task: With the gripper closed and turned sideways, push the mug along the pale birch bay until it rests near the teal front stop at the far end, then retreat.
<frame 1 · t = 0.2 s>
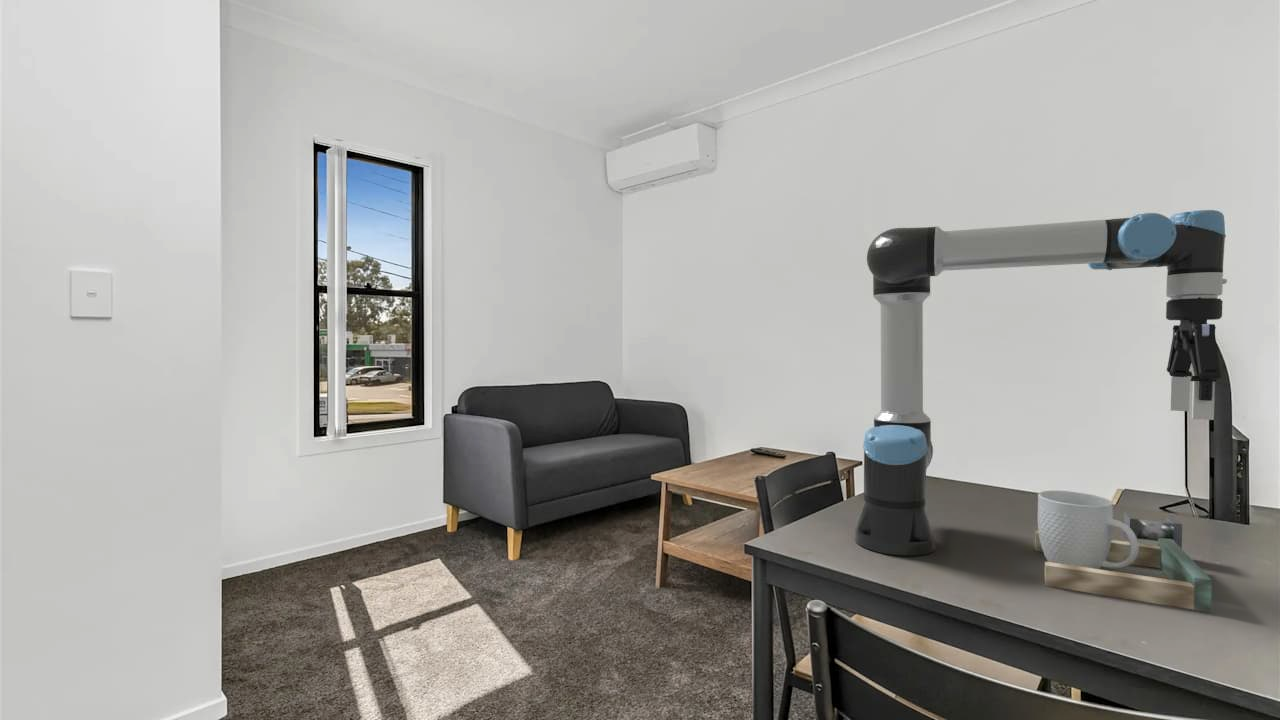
hand: (1190, 415, 110), 28 cm above the table, fingers open, 13 cm apart
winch: (1151, 556, 115), on the table
bay: (1111, 575, 106), on the table
mug: (1079, 572, 109), on the table
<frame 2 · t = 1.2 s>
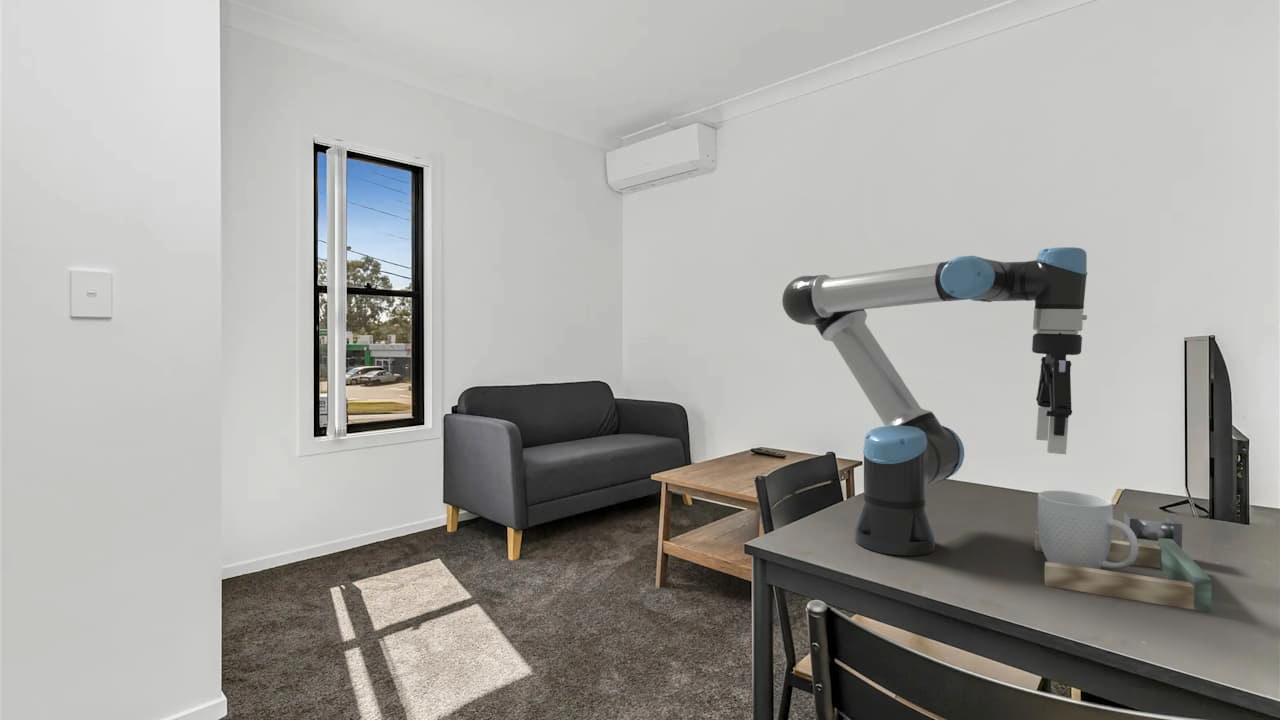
hand: (1049, 446, 113), 22 cm above the table, fingers open, 13 cm apart
nothing on the table moved.
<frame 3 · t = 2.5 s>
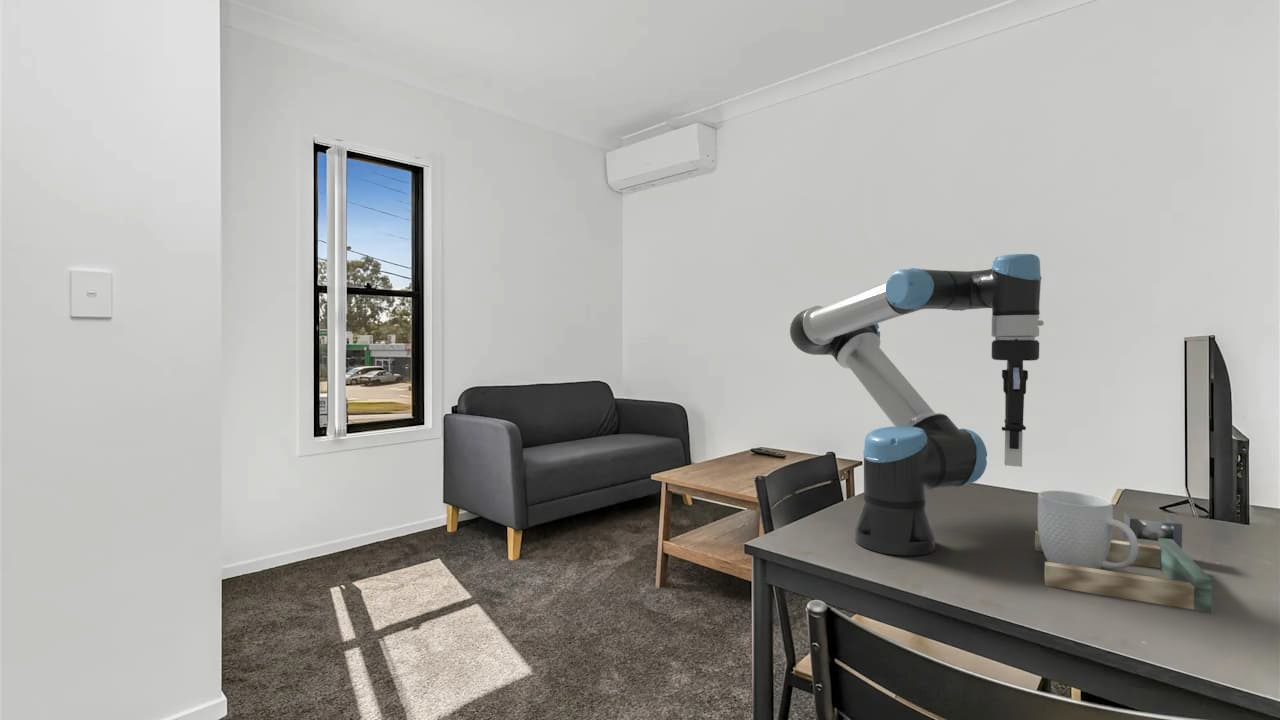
hand: (1013, 465, 113), 18 cm above the table, fingers closed
nothing on the table moved.
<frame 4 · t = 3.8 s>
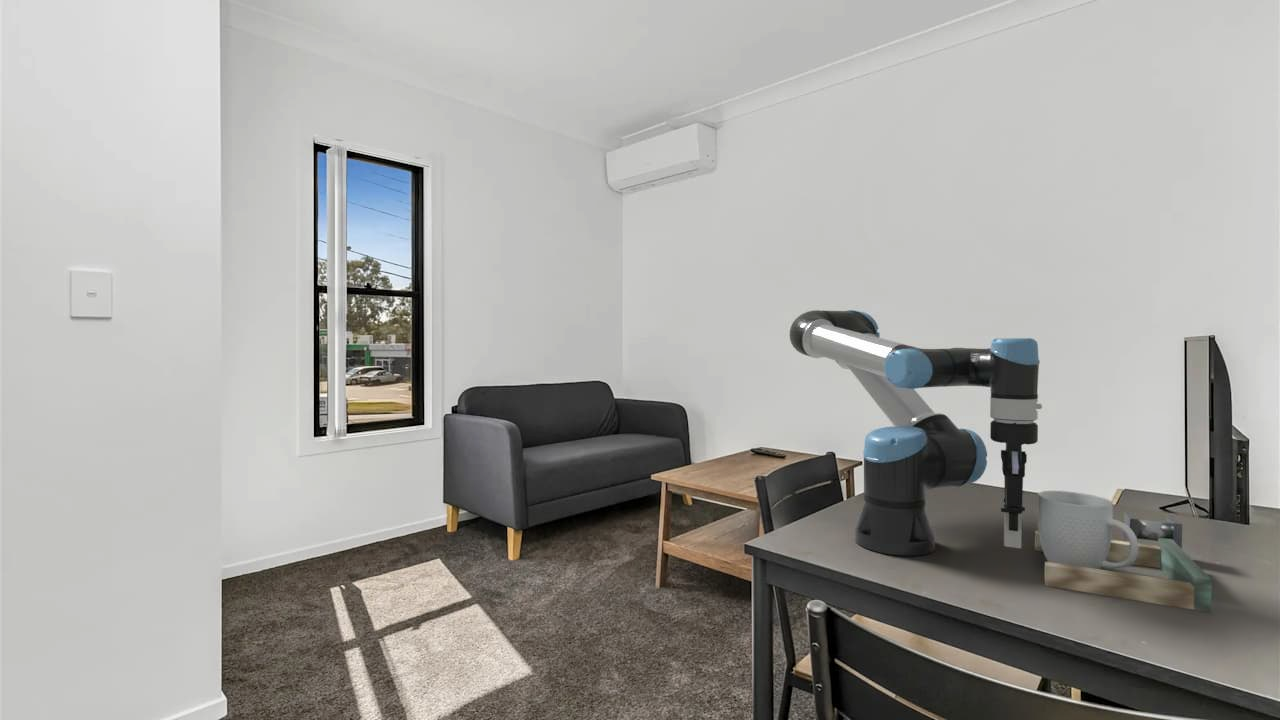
hand: (1012, 546, 113), 3 cm above the table, fingers closed
nothing on the table moved.
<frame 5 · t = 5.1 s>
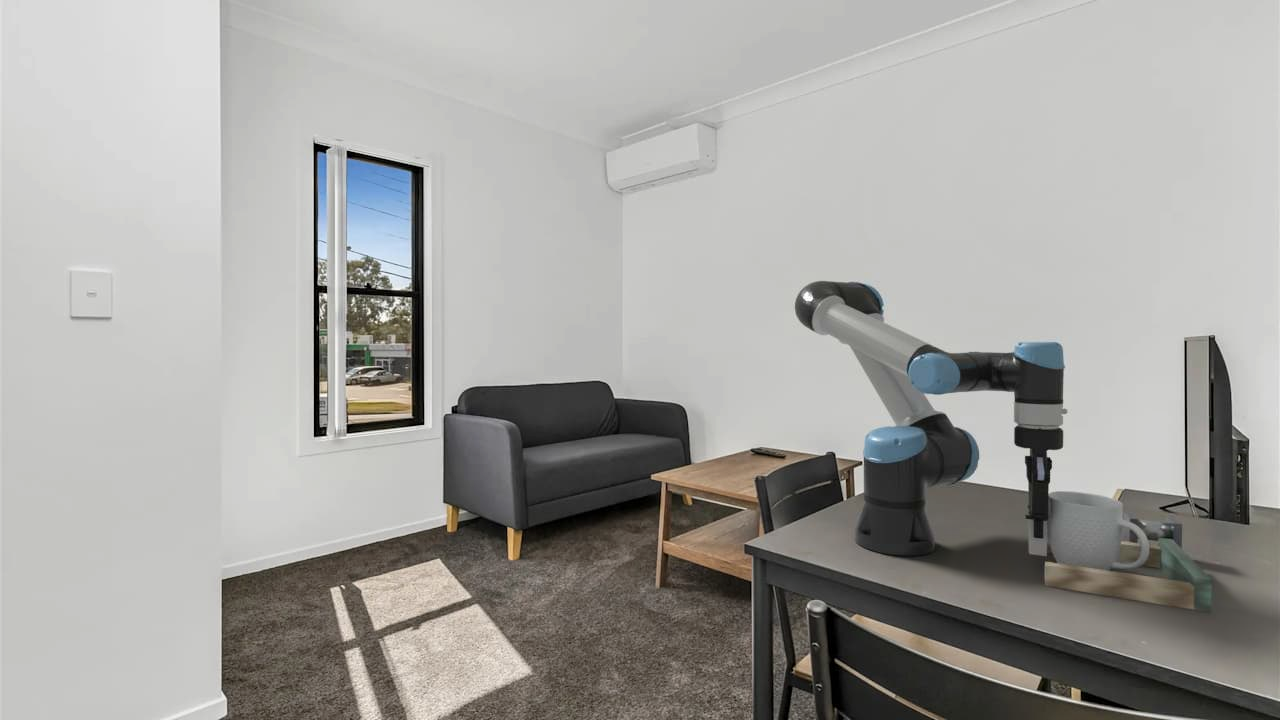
hand: (1037, 553, 111), 2 cm above the table, fingers closed
mug: (1089, 573, 108), on the table, touching gripper
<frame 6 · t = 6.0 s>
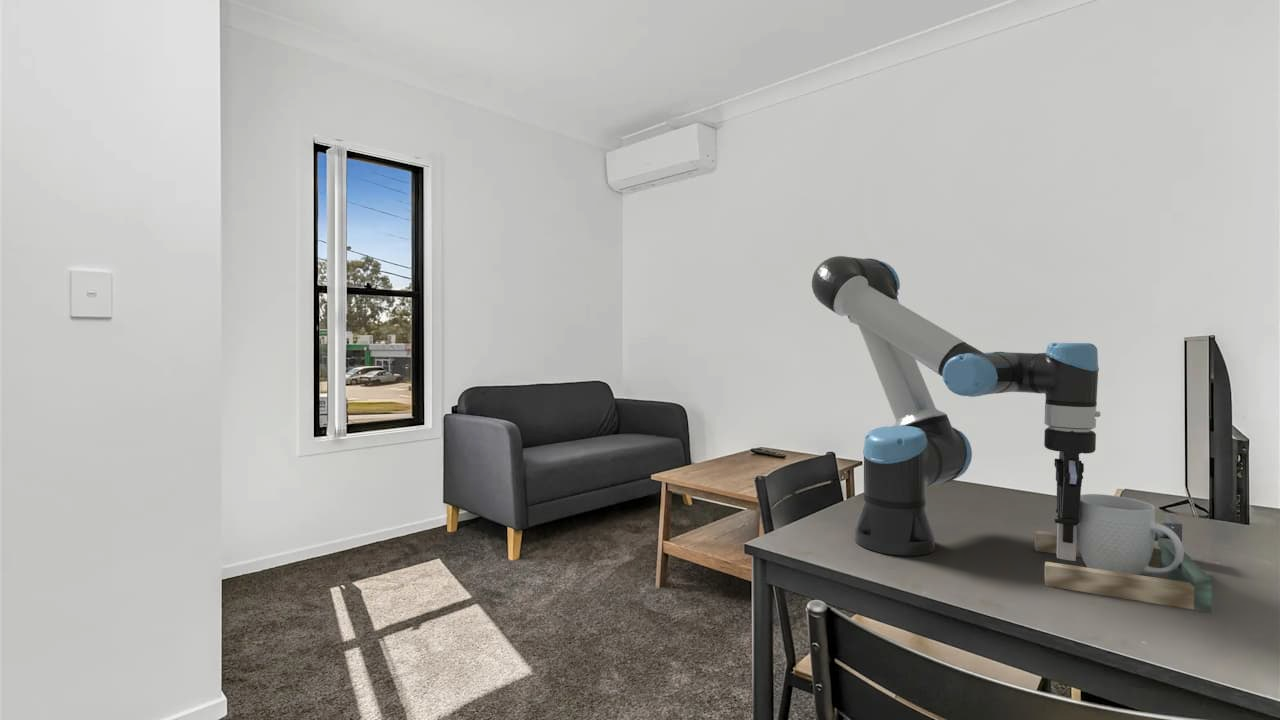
hand: (1066, 558, 109), 2 cm above the table, fingers closed
mug: (1120, 578, 106), on the table, touching bay, gripper
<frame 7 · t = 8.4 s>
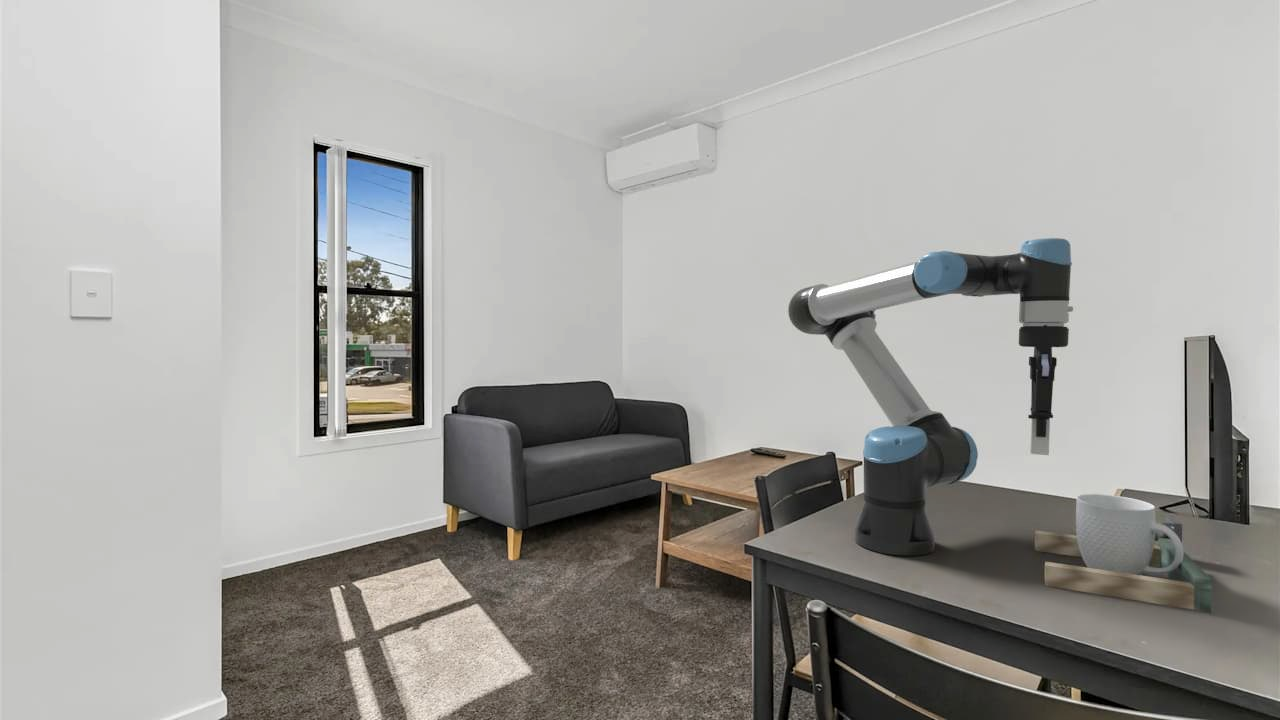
hand: (1039, 453, 111), 21 cm above the table, fingers closed
mug: (1120, 577, 106), on the table
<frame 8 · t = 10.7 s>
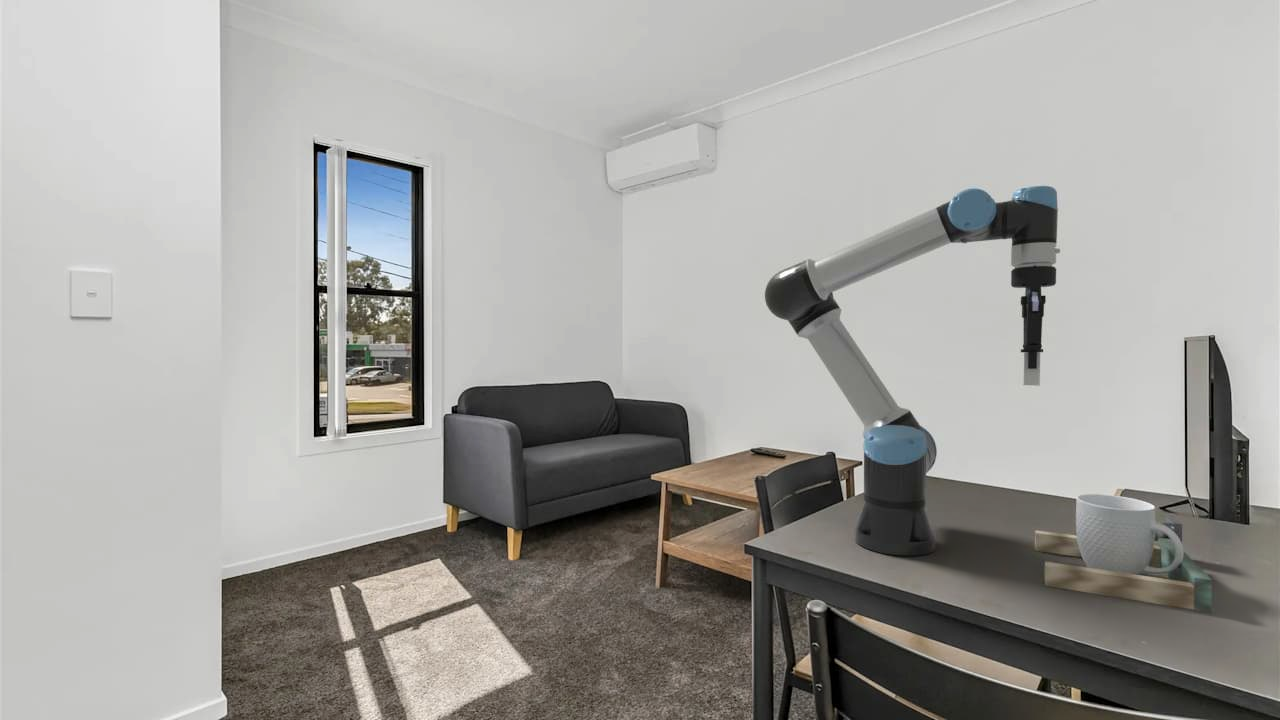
hand: (1031, 384, 121), 32 cm above the table, fingers closed
nothing on the table moved.
at the end: mug inside the target area (2.0 cm from its centre), on the table; mug tilted 0°; mug moved 5.9 cm from its start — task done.
